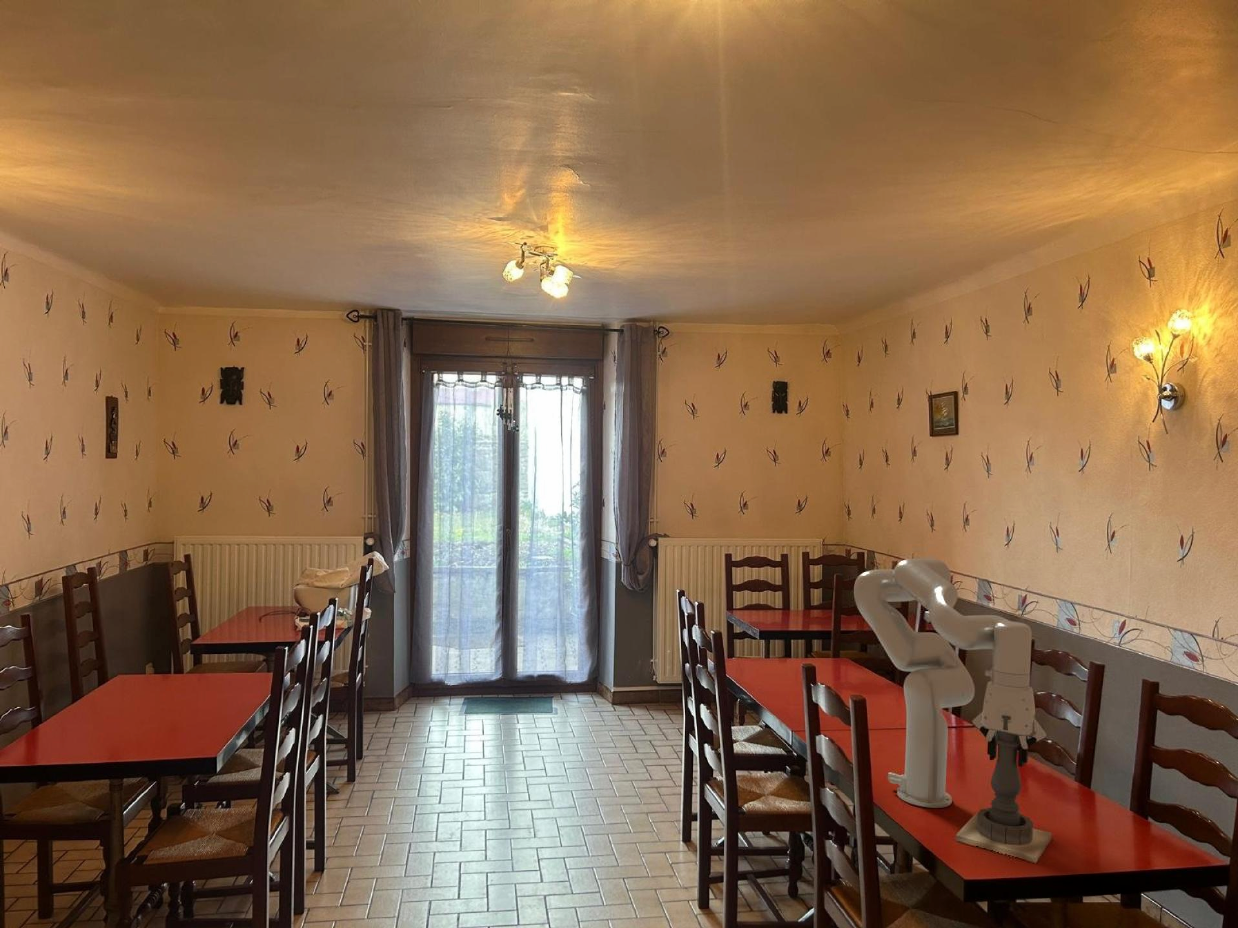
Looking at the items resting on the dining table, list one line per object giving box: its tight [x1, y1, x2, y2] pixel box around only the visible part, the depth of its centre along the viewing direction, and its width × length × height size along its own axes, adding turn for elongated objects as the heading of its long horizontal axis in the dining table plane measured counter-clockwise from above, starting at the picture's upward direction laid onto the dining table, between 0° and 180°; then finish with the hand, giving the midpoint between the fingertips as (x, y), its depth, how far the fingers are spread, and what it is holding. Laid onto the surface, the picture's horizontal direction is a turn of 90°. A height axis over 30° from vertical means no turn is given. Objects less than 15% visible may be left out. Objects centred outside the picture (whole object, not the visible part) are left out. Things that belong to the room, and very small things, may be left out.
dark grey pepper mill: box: [989, 715, 1022, 826], centre depth 189 cm, size 6×6×25 cm
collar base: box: [955, 807, 1053, 864], centre depth 189 cm, size 16×16×5 cm
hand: (1007, 760), depth 189 cm, fingers closed on dark grey pepper mill, 5 cm apart
